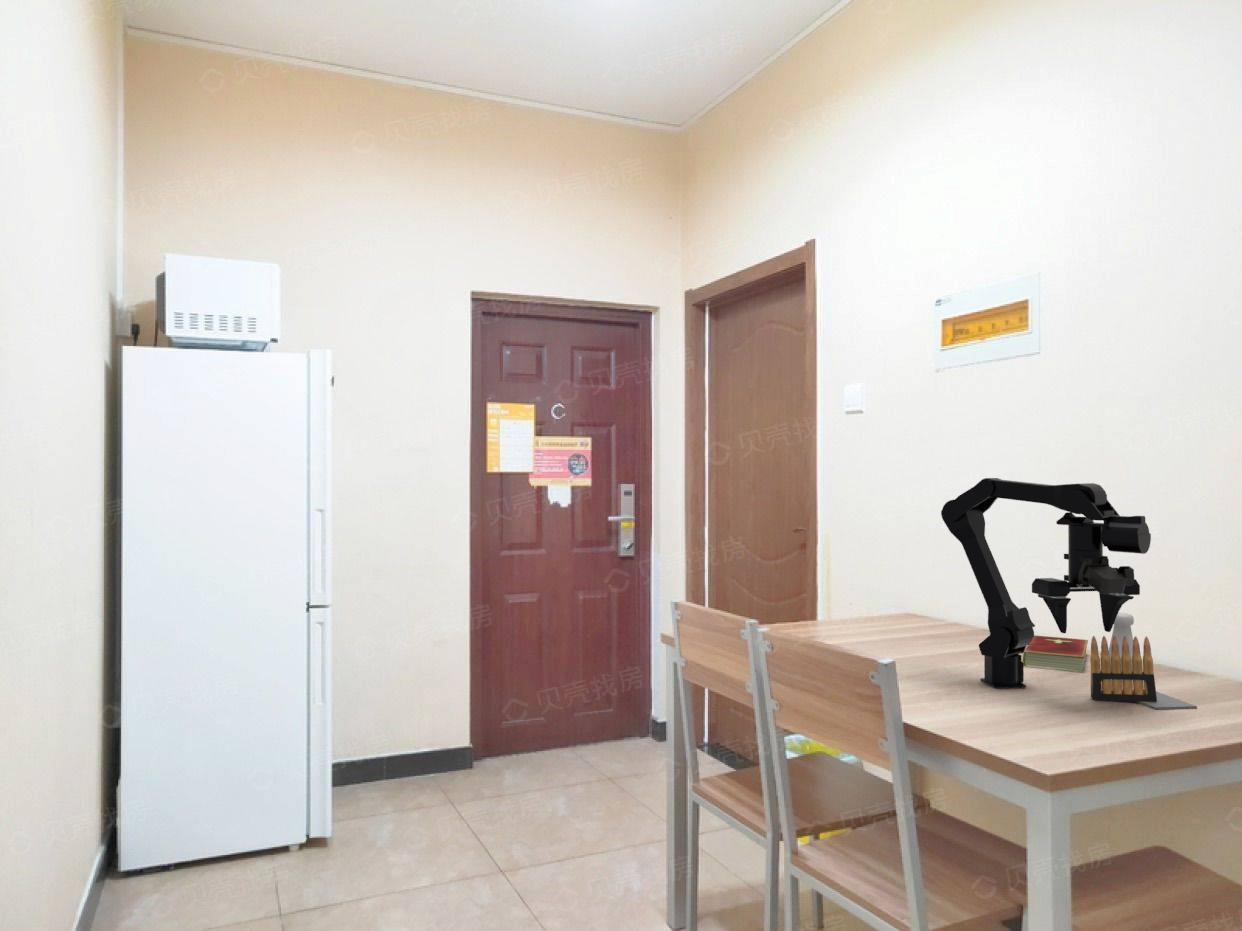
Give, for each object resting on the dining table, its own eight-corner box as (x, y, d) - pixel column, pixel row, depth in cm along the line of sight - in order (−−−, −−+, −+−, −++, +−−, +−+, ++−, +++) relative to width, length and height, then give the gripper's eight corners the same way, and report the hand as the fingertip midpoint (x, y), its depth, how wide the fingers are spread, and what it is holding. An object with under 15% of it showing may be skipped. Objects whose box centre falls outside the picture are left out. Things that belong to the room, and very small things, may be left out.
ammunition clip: (1092, 699, 163) (1089, 636, 163) (1090, 697, 165) (1087, 634, 165) (1157, 701, 159) (1153, 637, 159) (1154, 699, 161) (1150, 635, 161)
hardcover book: (1022, 668, 191) (1022, 649, 191) (1031, 651, 209) (1031, 633, 209) (1084, 674, 185) (1084, 655, 185) (1088, 656, 203) (1087, 638, 203)
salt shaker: (1106, 675, 182) (1106, 614, 182) (1105, 669, 187) (1105, 610, 187) (1138, 678, 179) (1138, 616, 179) (1136, 672, 184) (1136, 612, 184)
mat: (1155, 709, 156) (1155, 707, 156) (1112, 692, 168) (1112, 690, 168) (1197, 708, 157) (1197, 706, 157) (1150, 691, 169) (1150, 689, 169)
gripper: (1068, 554, 153) (1068, 642, 153) (1162, 553, 155) (1162, 639, 155) (1029, 548, 164) (1030, 630, 164) (1118, 547, 167) (1118, 627, 166)
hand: (1085, 632), depth 162 cm, fingers open, 9 cm apart
